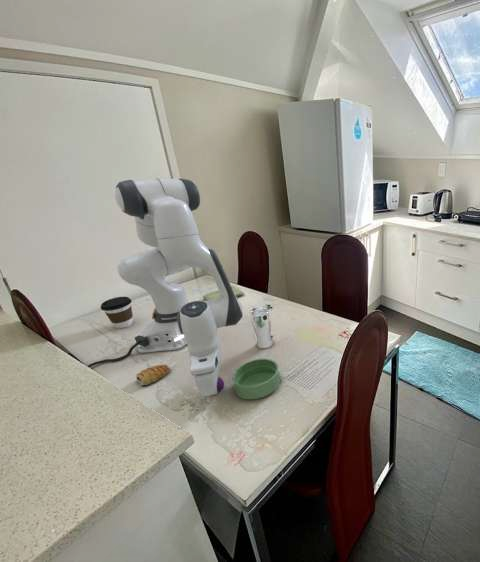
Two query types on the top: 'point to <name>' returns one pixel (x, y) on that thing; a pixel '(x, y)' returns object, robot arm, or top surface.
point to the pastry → (152, 374)
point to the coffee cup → (119, 311)
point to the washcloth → (217, 294)
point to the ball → (220, 384)
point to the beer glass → (262, 327)
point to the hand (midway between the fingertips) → (216, 386)
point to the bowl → (256, 378)
